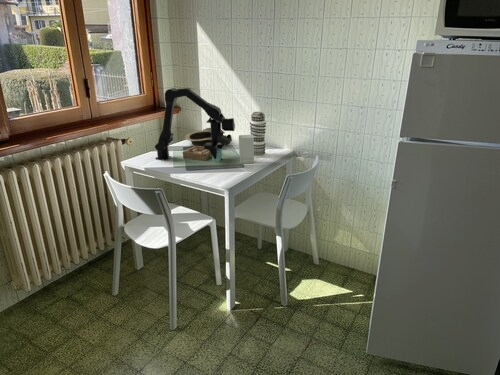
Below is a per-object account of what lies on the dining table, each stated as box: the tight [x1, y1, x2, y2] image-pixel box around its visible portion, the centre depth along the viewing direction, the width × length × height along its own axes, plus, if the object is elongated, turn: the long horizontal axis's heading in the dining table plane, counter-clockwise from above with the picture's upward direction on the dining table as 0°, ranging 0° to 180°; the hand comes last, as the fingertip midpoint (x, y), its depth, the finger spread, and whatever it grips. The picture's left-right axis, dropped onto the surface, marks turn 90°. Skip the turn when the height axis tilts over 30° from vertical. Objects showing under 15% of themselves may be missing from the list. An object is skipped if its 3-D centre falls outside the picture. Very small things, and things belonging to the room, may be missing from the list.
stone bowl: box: [184, 127, 226, 147], centre depth 245 cm, size 25×25×9 cm
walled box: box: [182, 145, 212, 162], centre depth 224 cm, size 14×14×4 cm
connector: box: [211, 147, 223, 162], centre depth 216 cm, size 4×4×7 cm
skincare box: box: [238, 134, 255, 164], centre depth 211 cm, size 8×6×15 cm
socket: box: [192, 148, 207, 154], centre depth 224 cm, size 5×7×3 cm
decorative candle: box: [249, 111, 267, 158], centre depth 220 cm, size 9×9×25 cm
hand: (217, 157), depth 217 cm, fingers closed on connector, 4 cm apart
